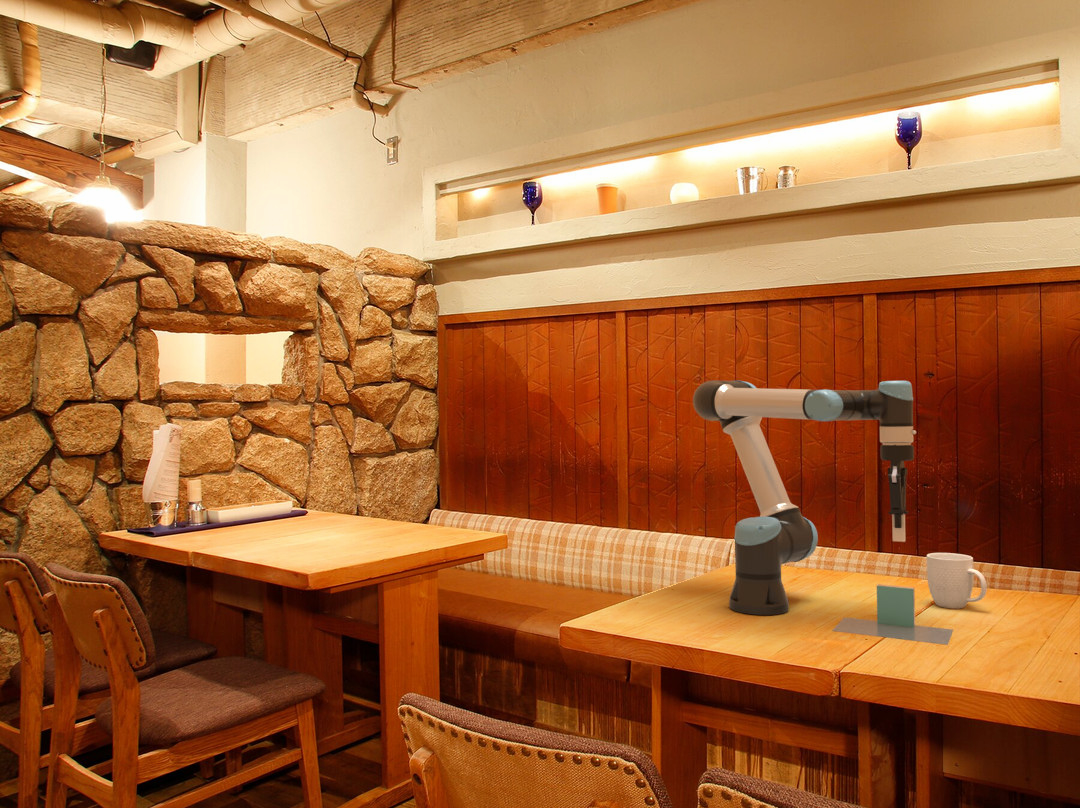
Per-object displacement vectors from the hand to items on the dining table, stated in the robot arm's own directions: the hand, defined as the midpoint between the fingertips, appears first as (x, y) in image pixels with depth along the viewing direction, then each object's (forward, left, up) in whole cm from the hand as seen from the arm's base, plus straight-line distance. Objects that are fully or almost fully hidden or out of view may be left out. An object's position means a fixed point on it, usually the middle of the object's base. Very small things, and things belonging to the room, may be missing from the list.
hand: (899, 540), depth 198 cm
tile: (0, -6, -19) cm, 20 cm away
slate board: (0, -12, -20) cm, 23 cm away
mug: (+10, +24, -20) cm, 33 cm away
